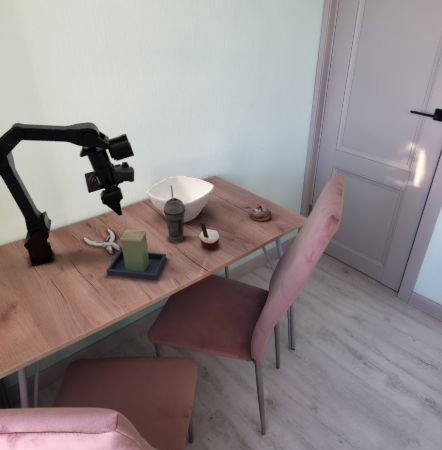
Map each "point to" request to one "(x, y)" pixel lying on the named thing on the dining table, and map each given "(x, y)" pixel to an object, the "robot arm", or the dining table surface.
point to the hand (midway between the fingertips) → (119, 208)
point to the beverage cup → (174, 218)
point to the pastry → (261, 213)
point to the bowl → (182, 194)
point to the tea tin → (135, 250)
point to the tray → (150, 273)
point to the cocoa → (208, 238)
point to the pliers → (108, 245)
